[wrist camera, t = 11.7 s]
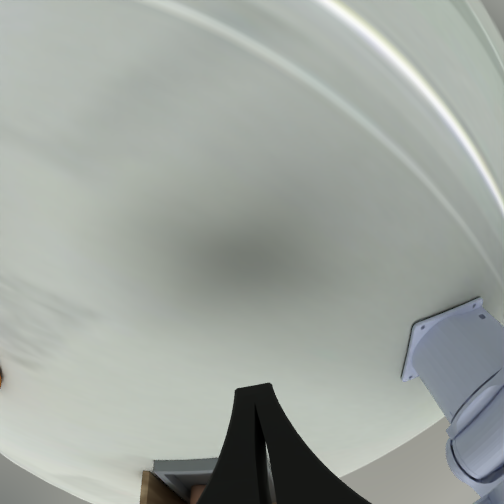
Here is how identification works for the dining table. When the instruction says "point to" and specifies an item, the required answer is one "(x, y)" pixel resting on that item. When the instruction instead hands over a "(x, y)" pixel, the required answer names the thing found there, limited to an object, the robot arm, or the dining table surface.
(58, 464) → the dining table surface
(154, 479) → the wooden l-shaped bracket
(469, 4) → the dining table surface
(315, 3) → the dining table surface
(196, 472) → the tray
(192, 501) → the peg
